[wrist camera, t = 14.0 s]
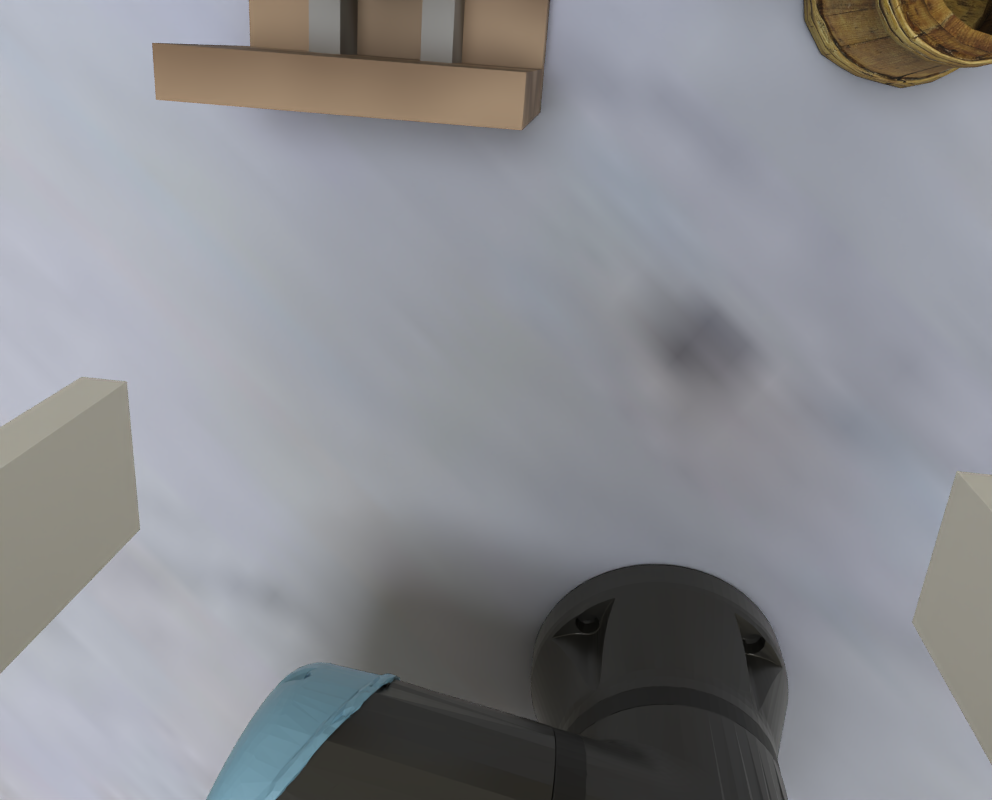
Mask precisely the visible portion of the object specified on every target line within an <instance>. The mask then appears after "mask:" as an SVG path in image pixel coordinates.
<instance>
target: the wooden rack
mask: <svg viewBox="0 0 992 800" xmlns="http://www.w3.org/2000/svg"><path fill="white" fill-rule="evenodd" d="M549 5H550V0H249V17H250V46H228V45H198V44H168V43H152V47H153V62H154V77H155V92H156V100H167V101H179V102H191V103H203V104H215V105H227V106H239V107H251V108H262V109H274V110H286V111H298V112H310V113H322V114H334V115H346V116H358V117H370V118H382V119H394V120H406V121H418V122H430V123H442V124H454V125H466V126H478V127H490V128H501V129H513V130H523V129H524V128H525V127H526V126H527V125H528V124H529V123H530V122H531V121H532V120H533V119H534V118H535V117H536V116H537V115H538V114H539V113H540V110H541V98H542V87H543V75H544V63H545V52H546V40H547V29H548V17H549Z"/></svg>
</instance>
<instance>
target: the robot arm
mask: <svg viewBox="0 0 992 800" xmlns="http://www.w3.org/2000/svg"><path fill="white" fill-rule="evenodd" d="M139 530H140V524H139V513H138V501H137V490H136V479H135V468H134V457H133V446H132V435H131V423H130V412H129V401H128V390H127V382H125V381H115V380H106V379H97V378H87V377H81V378H79V379H77V380H76V381H74V382H73V383H71V384H69V385H68V386H66V387H65V388H63V389H61V390H60V391H58V392H57V393H55V394H53V395H52V396H50V397H48V398H47V399H45V400H44V401H42V402H40V403H39V404H37V405H36V406H34V407H32V408H31V409H29V410H27V411H26V412H24V413H23V414H21V415H19V416H18V417H16V418H15V419H13V420H11V421H10V422H8V423H6V424H5V425H3V426H2V427H0V674H1V672H2V671H3V670H4V669H5V668H6V667H7V666H8V665H9V664H10V663H11V662H12V661H13V660H14V659H15V658H16V657H17V656H18V655H19V654H20V653H21V652H22V651H23V650H24V649H25V648H26V647H27V646H28V645H29V644H30V643H31V641H32V640H33V639H34V638H35V637H36V636H37V635H38V634H39V633H40V632H41V631H42V630H43V629H44V628H45V627H46V626H47V625H48V624H49V623H50V622H51V621H52V620H53V619H54V618H55V617H56V616H57V615H58V614H59V613H60V612H61V611H62V609H63V608H64V607H65V606H66V605H67V604H68V603H69V602H70V601H71V600H72V599H73V598H74V597H75V596H76V595H77V594H78V593H79V592H80V591H81V590H82V589H83V588H84V587H85V586H86V585H87V584H88V583H89V582H90V581H91V580H92V578H93V577H94V576H95V575H96V574H97V573H98V572H99V571H100V570H101V569H102V568H103V567H104V566H105V565H106V564H107V563H108V562H109V561H110V560H111V559H112V558H113V557H114V556H115V555H116V554H117V553H118V552H119V551H120V550H121V549H122V547H123V546H124V545H125V544H126V543H127V542H128V541H129V540H130V539H131V538H132V537H133V536H134V535H135V534H136V533H137V532H138V531H139ZM912 623H913V625H914V627H915V628H916V630H917V632H918V634H919V636H920V637H921V639H922V641H923V643H924V645H925V646H926V648H927V650H928V652H929V654H930V655H931V657H932V659H933V661H934V662H935V664H936V666H937V668H938V670H939V671H940V673H941V675H942V677H943V679H944V680H945V682H946V684H947V686H948V687H949V689H950V691H951V693H952V695H953V696H954V698H955V700H956V702H957V704H958V705H959V707H960V709H961V711H962V713H963V714H964V716H965V718H966V720H967V721H968V723H969V725H970V727H971V729H972V730H973V732H974V734H975V736H976V738H977V739H978V741H979V743H980V745H981V747H982V748H983V750H984V752H985V754H986V755H987V757H988V759H989V761H990V763H991V764H992V475H987V474H977V473H968V472H959V471H957V472H956V475H955V479H954V482H953V486H952V489H951V492H950V496H949V499H948V503H947V506H946V509H945V513H944V516H943V519H942V523H941V526H940V530H939V533H938V536H937V540H936V543H935V547H934V550H933V553H932V557H931V560H930V563H929V567H928V570H927V574H926V577H925V580H924V584H923V587H922V591H921V594H920V597H919V601H918V604H917V607H916V611H915V614H914V618H913V621H912ZM531 695H532V703H533V707H534V711H535V714H536V718H537V720H538V722H536V721H533V720H529V719H526V718H523V717H519V716H516V715H512V714H509V713H506V712H502V711H499V710H495V709H492V708H489V707H485V706H482V705H479V704H475V703H472V702H468V701H465V700H462V699H458V698H455V697H451V696H448V695H445V694H441V693H438V692H435V691H431V690H428V689H425V688H422V687H419V686H416V685H412V684H409V683H406V682H403V681H400V678H399V677H397V676H395V675H392V674H388V673H387V674H384V675H377V674H373V673H369V672H364V671H360V670H355V669H351V668H347V667H342V666H338V665H334V664H330V663H313V664H308V665H305V666H303V667H300V668H298V669H297V670H295V671H293V672H292V673H290V674H289V675H288V676H287V677H285V678H284V679H283V680H282V681H281V682H280V683H279V684H278V685H277V686H276V688H275V689H274V690H273V691H272V692H271V693H270V694H269V696H268V697H267V698H266V699H265V701H264V702H263V703H262V705H261V706H260V707H259V709H258V710H257V712H256V713H255V715H254V716H253V718H252V719H251V721H250V722H249V724H248V725H247V727H246V728H245V730H244V732H243V733H242V735H241V736H240V738H239V740H238V741H237V743H236V745H235V746H234V748H233V750H232V752H231V753H230V755H229V757H228V759H227V761H226V762H225V764H224V766H223V768H222V770H221V771H220V773H219V775H218V777H217V779H216V781H215V783H214V785H213V787H212V789H211V791H210V793H209V795H208V797H207V799H206V800H788V798H787V794H786V790H785V787H784V783H783V779H782V776H781V772H780V768H779V764H778V761H777V758H778V752H779V747H780V742H781V736H782V731H783V725H784V720H785V715H786V709H787V704H788V679H787V672H786V667H785V664H784V660H783V657H782V654H781V650H780V647H779V644H778V641H777V638H776V636H775V633H774V631H773V629H772V627H771V625H770V624H769V622H768V620H767V619H766V617H765V616H764V615H763V613H762V612H761V611H760V610H759V609H758V607H757V606H756V605H755V604H754V603H753V602H752V601H751V600H750V599H748V598H747V597H746V596H745V595H744V594H742V593H741V592H740V591H738V590H737V589H735V588H734V587H732V586H731V585H729V584H727V583H725V582H724V581H722V580H720V579H717V578H715V577H713V576H711V575H708V574H705V573H702V572H699V571H696V570H692V569H687V568H683V567H676V566H667V565H643V566H634V567H628V568H623V569H619V570H615V571H611V572H608V573H605V574H603V575H600V576H597V577H595V578H593V579H591V580H589V581H587V582H585V583H584V584H582V585H580V586H579V587H577V588H576V589H574V590H573V591H572V592H570V593H569V594H568V595H566V596H565V597H564V598H563V599H562V600H561V601H560V602H559V603H558V604H557V605H556V606H555V607H554V609H553V610H552V611H551V612H550V614H549V615H548V617H547V618H546V620H545V621H544V623H543V625H542V627H541V629H540V631H539V633H538V636H537V639H536V642H535V647H534V652H533V660H532V670H531Z"/></svg>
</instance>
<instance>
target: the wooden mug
mask: <svg viewBox="0 0 992 800" xmlns="http://www.w3.org/2000/svg"><path fill="white" fill-rule="evenodd" d="M804 14H805V22H806V24H807V26H808V28H809V30H810V32H811V34H812V36H813V38H814V40H815V42H816V44H817V46H818V48H819V50H820V52H821V54H822V55H824V56H825V57H826V58H828V59H829V60H831V61H832V62H834V63H835V64H837V65H838V66H840V67H841V68H843V69H845V70H847V71H848V72H850V73H852V74H854V75H855V76H859V77H862V78H865V79H869V80H872V81H875V82H879V83H883V84H887V85H891V86H895V87H899V88H904V87H909V86H914V85H920V84H925V83H930V82H933V81H935V80H937V79H939V78H941V77H943V76H945V75H947V74H949V73H951V72H953V71H955V70H957V69H958V68H967V67H979V66H984V65H988V64H992V0H804Z"/></svg>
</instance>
